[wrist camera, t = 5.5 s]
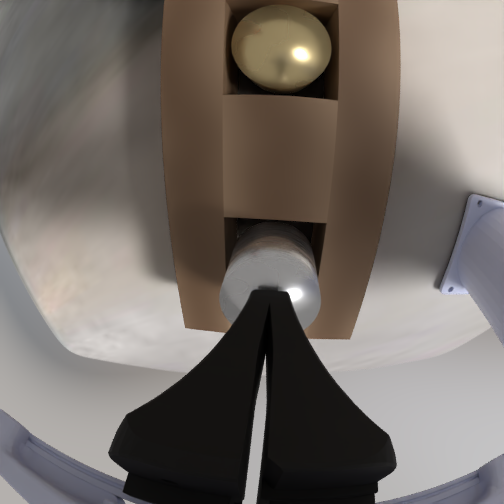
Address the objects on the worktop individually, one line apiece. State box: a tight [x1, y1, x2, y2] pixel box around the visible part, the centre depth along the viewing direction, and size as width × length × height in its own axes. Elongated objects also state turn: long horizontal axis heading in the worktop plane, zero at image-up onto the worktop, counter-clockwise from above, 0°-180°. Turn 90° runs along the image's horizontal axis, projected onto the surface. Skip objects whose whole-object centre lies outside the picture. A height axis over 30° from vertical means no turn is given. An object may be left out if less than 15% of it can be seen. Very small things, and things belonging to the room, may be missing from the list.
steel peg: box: [219, 222, 321, 330], centre depth 12 cm, size 4×4×4 cm
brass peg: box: [231, 5, 331, 94], centre depth 10 cm, size 4×4×4 cm
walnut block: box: [161, 0, 400, 339], centre depth 13 cm, size 10×20×4 cm, turn 179°
